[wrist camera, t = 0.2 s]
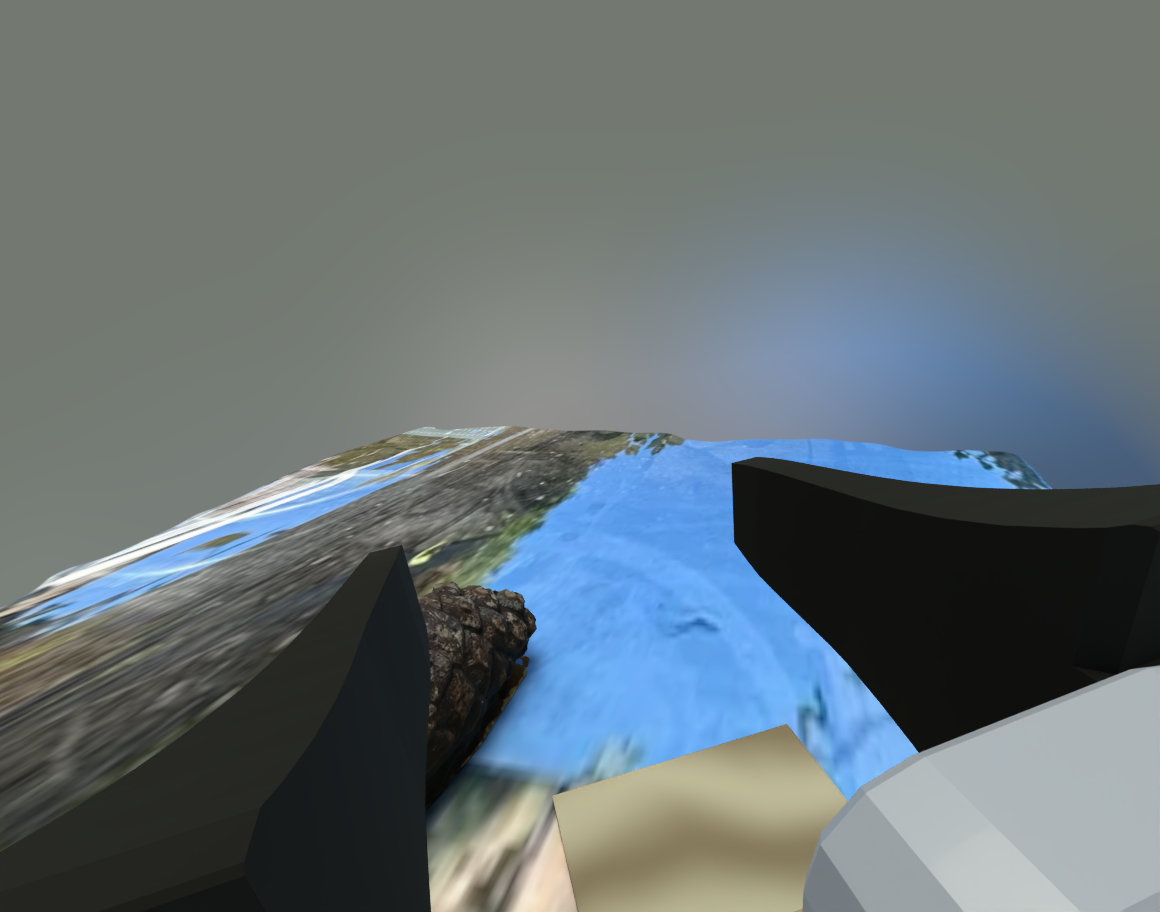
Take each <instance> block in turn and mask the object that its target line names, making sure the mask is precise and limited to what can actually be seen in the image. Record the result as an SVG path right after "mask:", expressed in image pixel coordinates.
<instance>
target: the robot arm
mask: <svg viewBox="0 0 1160 912" xmlns="http://www.w3.org/2000/svg"><path fill="white" fill-rule="evenodd" d="M732 489H733V518H734V543H735V544H736V546H737V547H738V548H739V550H740V551H741V552H742V554H743V555H744V557H745V558H746V559H747V561H748V562H749V563H750V565H751V566H752V567H753V568H754V570H755V571H756V572H757V573H758V575H759V576H760V577H761V578H762V579H763V580H764V581H765V582H766V583H767V584H768V585H769V586H770V587H771V588H772V589H773V590H774V591H775V592H776V593H777V594H778V595H779V596H780V597H781V598H782V599H783V600H784V601H785V602H786V603H787V604H788V605H789V606H790V607H791V608H792V609H793V610H794V611H795V612H796V613H797V614H798V615H800V616H801V617H802V618H803V619H804V620H805V621H806V622H807V623H808V624H809V625H810V626H811V627H812V628H813V629H814V630H815V631H816V632H817V633H818V634H819V635H820V636H821V637H822V638H823V639H824V640H825V641H826V642H827V643H828V644H829V645H830V646H831V647H832V648H833V649H834V650H835V651H836V652H837V653H838V654H839V655H840V656H841V657H842V658H843V659H844V660H845V661H846V663H847V664H848V665H849V666H850V667H851V668H852V670H853V671H854V672H855V673H856V674H857V676H858V677H859V678H860V679H861V680H862V682H863V683H864V684H865V685H866V686H867V688H868V689H869V690H870V691H871V692H872V694H873V695H874V696H875V697H876V698H877V700H878V701H879V702H880V703H881V705H882V706H883V707H884V708H885V710H886V711H887V712H888V714H889V715H890V716H891V717H892V719H893V720H894V721H895V723H896V724H897V725H898V726H899V728H900V729H901V730H902V731H903V733H904V734H905V735H906V737H907V738H908V739H909V740H910V742H911V743H912V744H913V746H914V747H915V748H916V750H917V751H918V752H919V753H917V754H915V755H912V756H911V757H909V758H907V759H906V760H904V761H902V762H901V763H899V764H897V765H896V766H894V767H893V768H891V769H889V770H888V771H886V772H884V773H883V774H881V775H879V776H878V777H876V778H874V779H873V780H871V781H869V782H868V783H866V784H865V785H863V786H861V787H860V788H859V789H858V790H857V792H856V793H855V794H854V795H853V796H852V797H851V798H850V799H849V801H848V802H847V803H846V804H845V805H844V806H843V807H842V809H841V810H840V811H839V812H838V813H837V814H836V815H835V816H834V818H833V819H832V820H831V821H830V822H829V823H828V824H827V826H826V827H825V828H824V829H823V830H822V831H821V833H820V836H819V839H818V842H817V845H816V848H815V851H814V854H813V857H812V859H811V862H810V865H809V868H808V871H807V874H806V879H805V885H804V891H803V912H1160V484H1158V485H1145V486H1134V487H1133V486H1132V487H1117V488H1092V489H997V488H975V487H960V486H949V485H938V484H926V483H918V482H910V481H902V480H896V479H889V478H882V477H876V476H869V475H864V474H858V473H852V472H847V471H841V470H836V469H831V468H826V467H820V466H815V465H810V464H805V463H799V462H794V461H788V460H782V459H775V458H765V457H755V458H751V459H747V460H743V461H739V462H734V463H732ZM430 680H431V669H430V656H429V645H428V634H427V627H426V624H425V620H424V617H423V614H422V610H421V607H420V604H419V600H418V597H417V594H416V590H415V587H414V584H413V580H412V577H411V574H410V570H409V567H408V564H407V560H406V557H405V554H404V551H403V547H402V545H400V546H396V547H392V548H388V549H384V550H380V551H376V552H372V553H369V554H368V555H367V557H366V558H365V559H364V560H363V561H362V562H361V563H360V565H359V566H358V567H357V568H356V570H355V571H354V572H353V573H352V574H351V576H350V577H349V578H348V579H347V581H346V582H345V583H344V584H343V585H342V587H341V588H340V589H339V590H338V591H337V593H336V594H335V595H334V596H333V597H332V598H331V600H330V601H329V602H328V603H327V604H326V606H325V607H324V608H323V609H322V610H321V611H320V612H319V614H318V615H317V616H316V617H315V618H314V619H313V620H312V621H311V622H310V623H309V624H308V625H307V626H306V627H305V628H304V630H303V631H302V632H301V633H300V634H299V635H298V636H297V637H296V638H295V639H294V640H293V641H292V642H291V643H290V645H289V646H288V647H287V648H286V649H285V650H284V651H283V652H282V653H280V654H279V655H278V656H277V657H276V658H275V659H274V660H273V661H272V662H271V663H270V664H269V665H268V666H267V667H266V668H265V669H263V670H262V671H261V672H260V673H259V674H258V675H257V676H256V677H254V678H253V679H252V680H251V681H250V682H249V683H248V684H247V685H245V686H244V687H243V688H242V689H241V690H240V691H238V692H237V693H236V694H235V695H234V696H232V697H231V698H230V699H229V700H227V701H226V702H225V703H224V704H222V705H221V706H220V707H218V708H217V709H216V710H214V711H213V712H212V713H211V714H209V715H208V716H207V717H205V718H204V719H203V720H202V721H200V722H199V723H198V724H196V725H195V726H194V727H193V728H191V729H190V730H189V731H187V732H186V733H185V734H183V735H182V736H181V737H180V738H178V739H177V740H176V741H174V742H173V743H171V744H170V745H169V746H167V747H166V748H164V749H163V750H161V751H160V752H159V753H157V754H156V755H154V756H153V757H151V758H150V759H149V760H147V761H146V762H144V763H143V764H141V765H140V766H138V767H137V768H136V769H134V770H133V771H131V772H129V773H128V774H126V775H125V776H123V777H122V778H120V779H119V780H117V781H116V782H114V783H113V784H111V785H110V786H108V787H107V788H105V789H104V790H102V791H101V792H99V793H98V794H96V795H94V796H93V797H91V798H90V799H88V800H86V801H85V802H83V803H82V804H80V805H79V806H77V807H75V808H74V809H72V810H71V811H69V812H67V813H65V814H64V815H62V816H60V817H59V818H57V819H55V820H54V821H52V822H50V823H49V824H47V825H45V826H43V827H42V828H40V829H38V830H37V831H35V832H33V833H32V834H30V835H28V836H27V837H25V838H23V839H22V840H20V841H18V842H16V843H15V844H13V845H11V846H10V847H8V848H6V849H5V850H3V851H1V852H0V912H431V905H430V889H429V873H428V855H427V835H426V815H425V778H426V760H427V741H428V722H429V702H430Z"/></svg>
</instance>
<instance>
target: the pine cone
mask: <svg viewBox="0 0 1160 912" xmlns="http://www.w3.org/2000/svg"><path fill="white" fill-rule="evenodd" d="M417 597H418V600H419V604H420V607H421V610H422V614H423V617H424V620H425V624H426V627H427V634H428V645H429V656H430V669H431V680H430V702H429V722H428V741H427V760H426V778H425V808H427V807H428V806H429V805H430V804H431V803H432V802H433V801H434V800H435V799H436V797H437V796H438V795H439V794H440V793H441V792H442V791H443V790H444V788H445V787H446V786H447V785H448V783H449V782H450V781H451V779H452V778H453V777H454V776H455V774H456V773H457V772H458V771H459V770H460V769H461V768H462V767H463V766H464V765H465V763H466V762H467V761H468V760H469V759H470V757H471V756H472V755H473V754H474V753H475V751H476V750H477V749H478V748H479V747H480V745H481V744H482V743H483V741H484V740H485V738H486V736H487V735H488V733H489V731H490V730H491V728H492V726H493V725H494V723H495V721H496V720H497V719H498V717H499V716H500V714H501V713H502V711H503V710H504V708H505V707H506V705H507V704H508V702H509V701H510V699H511V698H512V696H513V695H514V693H515V692H516V690H517V688H518V687H519V685H520V684H521V682H522V680H523V679H524V677H525V676H526V670H527V669H526V667H527V666H528V663H529V658H528V657H526V656H524V654H525V652H526V650H527V645H528V641H529V638H530V637H531V636H532V634H533V633H534V632H535V630H536V629H537V628H536V625H535V621H536V619H535V617H534V615H533V614H532V613H531V612H530V611H529V610H528V609H527V608H524V602H525V600H524V598H523V596H522V595H521V594H519V593H516V592H510V591H508V590H507V589H505V590H503V591H499V592H498V591H492V590H491V589H485V588H483V587H481V586H471V585H470V586H467V587H465V588H463V589H461V590H460V588H459V587H458V585H457V584H456V583H454V582H452V581H451V582H449V583H446V584H443V583H439V584H435V585H434V586H433V591H432V593H430V594H427V595H425V596H417ZM518 658H521V659H522V661H523V665H520V664H515V662H516V659H518Z"/></svg>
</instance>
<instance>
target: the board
mask: <svg viewBox="0 0 1160 912" xmlns="http://www.w3.org/2000/svg"><path fill="white" fill-rule="evenodd" d="M553 802H554V807H555V811H556V816H557V820H558V824H559V829H560V833H561V838H562V842H563V847H564V851H565V855H566V860H567V864H568V869H569V873H570V878H571V882H572V886H573V891H574V895H575V900H576V904H577V909H578V912H795V911H797V910H800V909H802V908H803V891H804V885H805V879H806V874H807V871H808V868H809V865H810V862H811V859H812V857H813V854H814V851H815V848H816V845H817V842H818V839H819V836H820V833H821V831H822V830H823V829H824V828H825V827H826V826H827V824H828V823H829V822H830V821H831V820H832V819H833V818H834V816H835V815H836V814H837V813H838V812H839V811H840V810H841V809H842V807H843V806H844V805H845V804H846V803H847V802H848V801H847V800H846V798H845V797H844V796H843V795H842V793H841V792H840V791H839V790H838V788H837V787H836V786H835V784H834V783H833V782H832V781H831V779H830V778H829V777H828V776H827V774H826V773H825V772H824V770H823V769H822V768H821V767H820V765H819V764H818V763H817V762H816V760H815V759H814V758H813V756H812V755H811V754H810V753H809V751H808V750H807V749H806V748H805V746H804V745H803V744H802V742H801V741H800V740H799V739H798V737H797V736H796V735H795V734H794V732H793V731H792V730H791V728H790V727H789V726H788V725H787V724H785V725H782V726H779V727H776V728H772V729H769V730H766V731H763V732H759V733H756V734H753V735H749V736H746V737H743V738H740V739H736V740H733V741H730V742H727V743H723V744H720V745H717V746H714V747H710V748H707V749H704V750H700V751H697V752H694V753H691V754H687V755H684V756H681V757H678V758H674V759H671V760H668V761H665V762H661V763H658V764H655V765H652V766H648V767H645V768H642V769H638V770H635V771H632V772H629V773H625V774H622V775H619V776H616V777H612V778H609V779H606V780H603V781H599V782H596V783H593V784H589V785H586V786H583V787H580V788H576V789H573V790H570V791H567V792H563V793H560V794H557V795H554V796H553Z"/></svg>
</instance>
